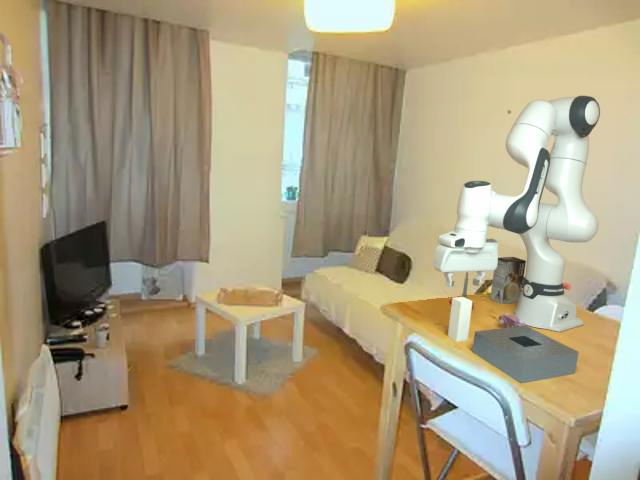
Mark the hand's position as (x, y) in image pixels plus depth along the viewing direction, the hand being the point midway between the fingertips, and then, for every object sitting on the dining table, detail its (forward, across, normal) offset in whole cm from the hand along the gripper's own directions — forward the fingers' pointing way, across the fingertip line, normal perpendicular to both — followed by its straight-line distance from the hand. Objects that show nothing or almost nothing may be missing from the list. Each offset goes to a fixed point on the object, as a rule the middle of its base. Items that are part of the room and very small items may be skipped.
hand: (463, 285), depth 139 cm
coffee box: (+15, -42, -25) cm, 51 cm away
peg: (+16, -1, 0) cm, 16 cm away
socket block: (+16, -8, +18) cm, 25 cm away
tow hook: (+16, -22, -25) cm, 37 cm away
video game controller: (+16, -21, +1) cm, 27 cm away
